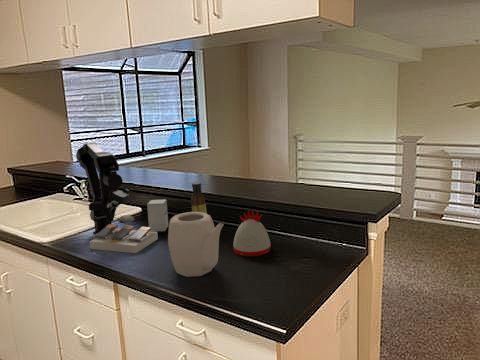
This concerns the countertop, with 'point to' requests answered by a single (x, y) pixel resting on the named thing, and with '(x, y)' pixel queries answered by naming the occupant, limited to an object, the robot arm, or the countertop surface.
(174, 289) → the countertop surface
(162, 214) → the supplement box
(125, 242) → the switch board
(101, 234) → the rocker
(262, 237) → the kitchen timer
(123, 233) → the rocker
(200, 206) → the sauce bottle
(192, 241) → the watering can
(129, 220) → the soupspoon
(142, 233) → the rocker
